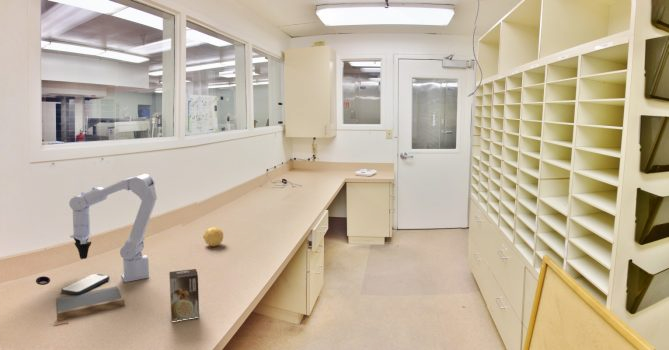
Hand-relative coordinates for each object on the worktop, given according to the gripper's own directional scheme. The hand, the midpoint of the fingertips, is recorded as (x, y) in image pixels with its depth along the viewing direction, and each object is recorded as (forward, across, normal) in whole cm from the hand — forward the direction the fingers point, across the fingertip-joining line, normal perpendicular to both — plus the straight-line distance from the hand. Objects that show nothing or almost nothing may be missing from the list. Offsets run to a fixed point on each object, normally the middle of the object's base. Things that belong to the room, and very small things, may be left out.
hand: (82, 255), depth 166 cm
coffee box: (+9, +54, +26) cm, 61 cm away
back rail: (+9, +34, 0) cm, 35 cm away
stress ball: (+9, -12, +59) cm, 61 cm away
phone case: (+10, +10, 0) cm, 14 cm away
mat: (+10, +25, 0) cm, 26 cm away
